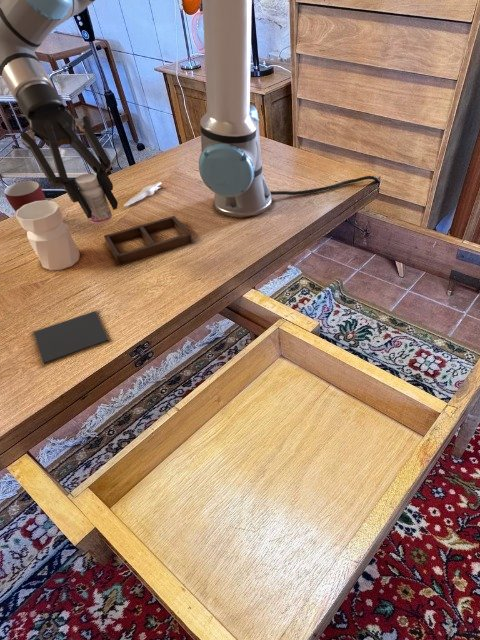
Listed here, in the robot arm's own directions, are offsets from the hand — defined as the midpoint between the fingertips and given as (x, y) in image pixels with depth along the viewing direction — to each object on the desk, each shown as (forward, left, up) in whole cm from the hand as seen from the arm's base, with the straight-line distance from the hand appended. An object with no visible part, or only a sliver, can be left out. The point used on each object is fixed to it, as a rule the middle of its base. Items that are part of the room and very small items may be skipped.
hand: (102, 210), depth 89 cm
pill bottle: (+1, -4, -3) cm, 5 cm away
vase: (+11, -13, -15) cm, 23 cm away
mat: (+15, +16, -14) cm, 27 cm away
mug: (+13, -32, -15) cm, 38 cm away
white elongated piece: (-15, -33, -15) cm, 39 cm away
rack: (-9, -9, -14) cm, 19 cm away
